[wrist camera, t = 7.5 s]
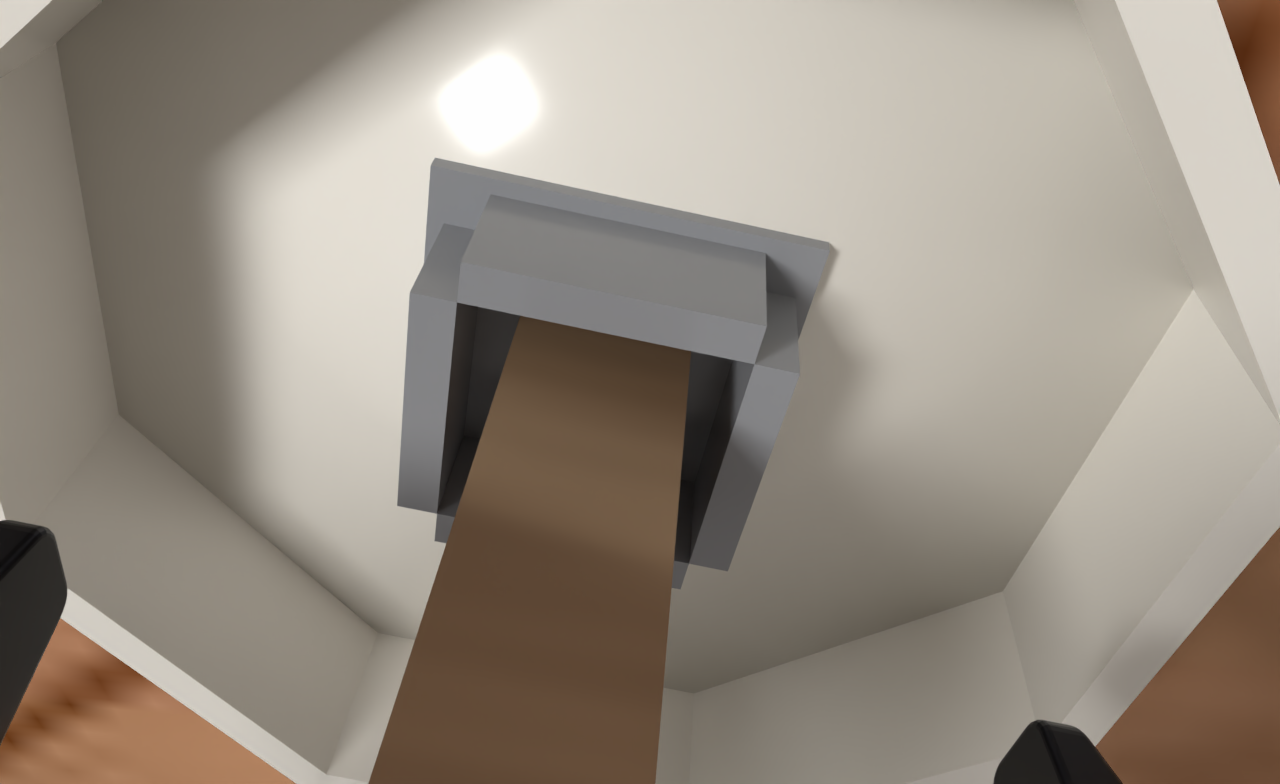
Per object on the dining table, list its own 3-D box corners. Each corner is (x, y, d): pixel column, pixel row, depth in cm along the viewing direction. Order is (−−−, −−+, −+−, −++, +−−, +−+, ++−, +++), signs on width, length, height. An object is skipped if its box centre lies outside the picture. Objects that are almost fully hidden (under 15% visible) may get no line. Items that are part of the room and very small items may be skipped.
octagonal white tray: (928, 730, 18) (956, 911, 16) (133, 577, 18) (29, 741, 15) (1480, -124, 10) (1740, -23, 7) (-60, -493, 9) (-386, -529, 6)
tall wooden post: (658, 438, 14) (578, 1166, 7) (511, 407, 13) (297, 1117, 7) (694, 317, 12) (631, 1066, 6) (531, 280, 12) (295, 1006, 6)
